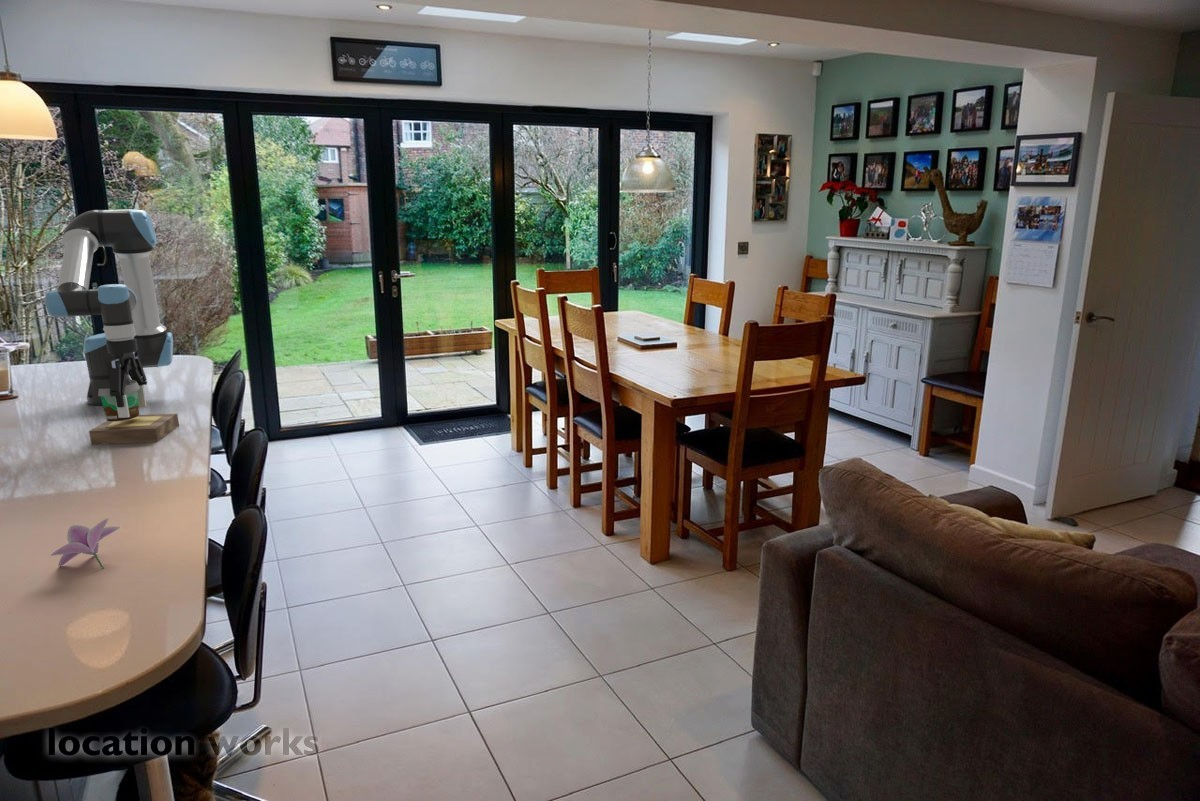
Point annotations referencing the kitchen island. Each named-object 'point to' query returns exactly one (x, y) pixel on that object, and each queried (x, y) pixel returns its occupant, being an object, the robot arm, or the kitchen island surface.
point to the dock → (135, 429)
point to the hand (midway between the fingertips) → (133, 411)
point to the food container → (110, 402)
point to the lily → (83, 541)
